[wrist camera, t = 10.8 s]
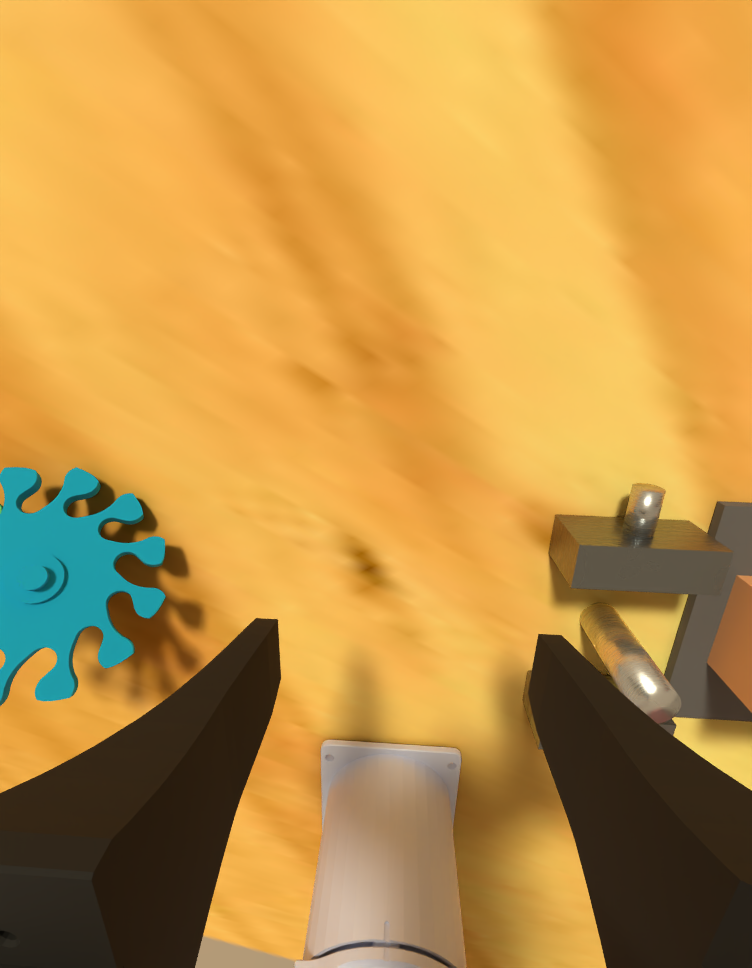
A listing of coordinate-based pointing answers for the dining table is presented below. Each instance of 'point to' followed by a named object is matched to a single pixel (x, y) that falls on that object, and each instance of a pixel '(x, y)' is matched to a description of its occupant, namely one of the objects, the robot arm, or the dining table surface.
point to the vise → (634, 587)
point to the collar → (735, 642)
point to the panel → (711, 627)
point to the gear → (64, 578)
